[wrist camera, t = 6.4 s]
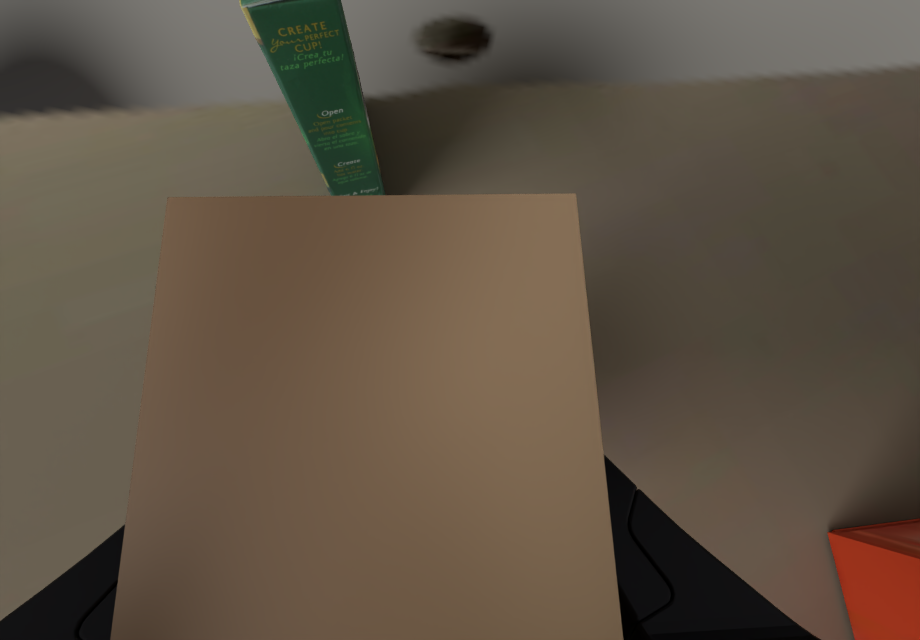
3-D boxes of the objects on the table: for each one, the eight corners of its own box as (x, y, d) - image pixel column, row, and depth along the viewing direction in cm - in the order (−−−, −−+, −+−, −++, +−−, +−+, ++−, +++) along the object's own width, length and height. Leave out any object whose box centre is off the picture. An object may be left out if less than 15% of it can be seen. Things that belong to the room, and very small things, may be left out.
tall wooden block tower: (476, 360, 16) (575, 193, 4) (484, 537, 15) (659, 973, 3) (367, 363, 16) (167, 196, 4) (364, 543, 14) (58, 1035, 3)
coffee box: (314, 101, 26) (196, -203, 13) (362, 93, 26) (292, -213, 14) (340, 224, 24) (233, 13, 12) (391, 213, 25) (341, -4, 12)
